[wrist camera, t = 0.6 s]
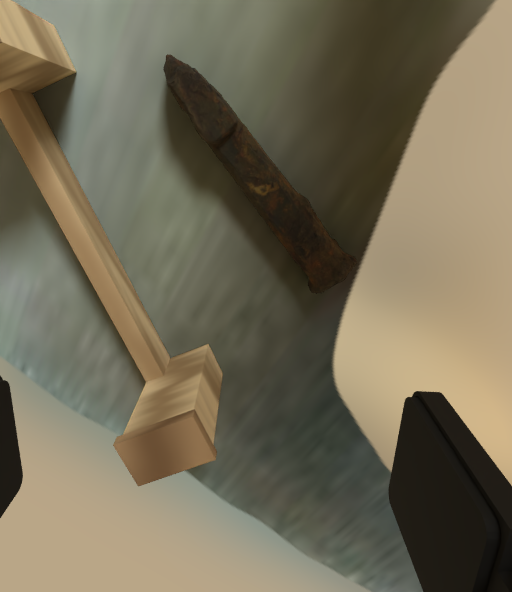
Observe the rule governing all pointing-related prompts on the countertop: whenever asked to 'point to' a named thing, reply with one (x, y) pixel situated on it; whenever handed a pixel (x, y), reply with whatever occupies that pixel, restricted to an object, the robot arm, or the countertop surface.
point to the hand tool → (259, 178)
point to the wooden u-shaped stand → (106, 266)
